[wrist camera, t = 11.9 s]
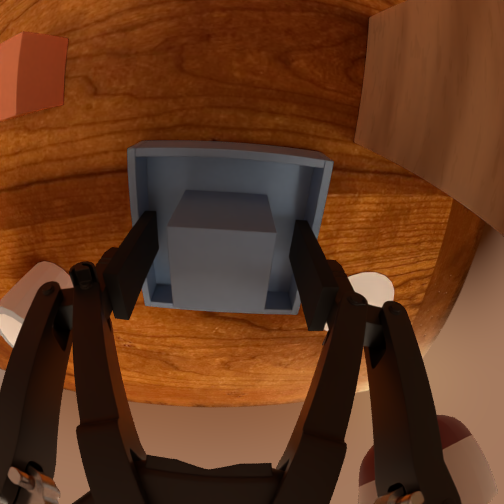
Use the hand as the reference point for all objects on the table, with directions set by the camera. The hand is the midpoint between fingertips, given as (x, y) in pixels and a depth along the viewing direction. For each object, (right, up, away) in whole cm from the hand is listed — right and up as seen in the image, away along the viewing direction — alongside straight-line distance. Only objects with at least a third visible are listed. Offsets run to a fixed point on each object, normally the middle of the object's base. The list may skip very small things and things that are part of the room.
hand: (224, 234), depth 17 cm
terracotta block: (-13, +11, -6) cm, 18 cm away
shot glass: (-17, -4, +4) cm, 18 cm away
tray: (0, +1, +1) cm, 1 cm away
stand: (+13, +9, -4) cm, 16 cm away
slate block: (0, 0, +1) cm, 1 cm away
